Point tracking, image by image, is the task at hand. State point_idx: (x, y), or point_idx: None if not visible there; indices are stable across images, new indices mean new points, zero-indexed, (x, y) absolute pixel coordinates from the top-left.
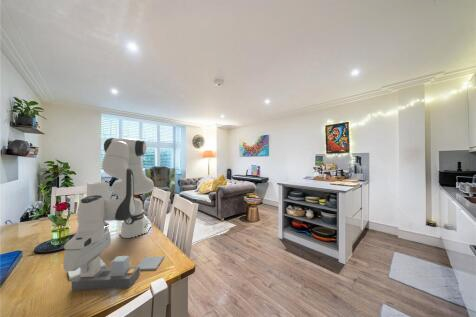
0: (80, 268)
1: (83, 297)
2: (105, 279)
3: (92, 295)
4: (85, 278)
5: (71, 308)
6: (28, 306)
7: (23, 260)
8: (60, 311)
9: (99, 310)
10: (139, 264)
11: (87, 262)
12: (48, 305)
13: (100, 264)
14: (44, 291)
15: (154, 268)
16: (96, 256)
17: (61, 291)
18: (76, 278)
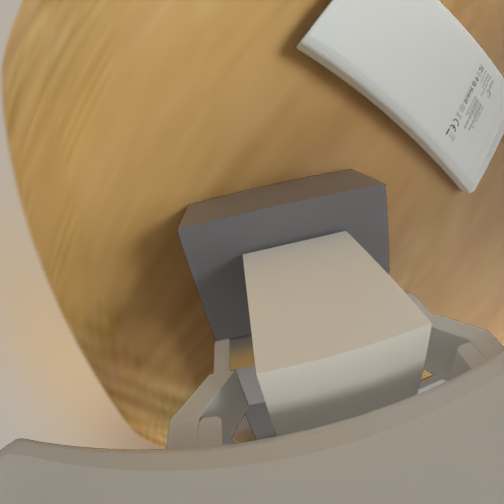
0: (249, 309)
1: (165, 341)
2: (255, 427)
3: (192, 369)
4: (240, 312)
5: (99, 349)
6: (32, 89)
7: None
8: (69, 318)
9: (145, 437)
10: (432, 387)
11: (276, 435)
12: (61, 205)
13: (473, 153)
14: (150, 3)
15: None
16: (448, 354)
17: (167, 130)
18: (223, 229)
